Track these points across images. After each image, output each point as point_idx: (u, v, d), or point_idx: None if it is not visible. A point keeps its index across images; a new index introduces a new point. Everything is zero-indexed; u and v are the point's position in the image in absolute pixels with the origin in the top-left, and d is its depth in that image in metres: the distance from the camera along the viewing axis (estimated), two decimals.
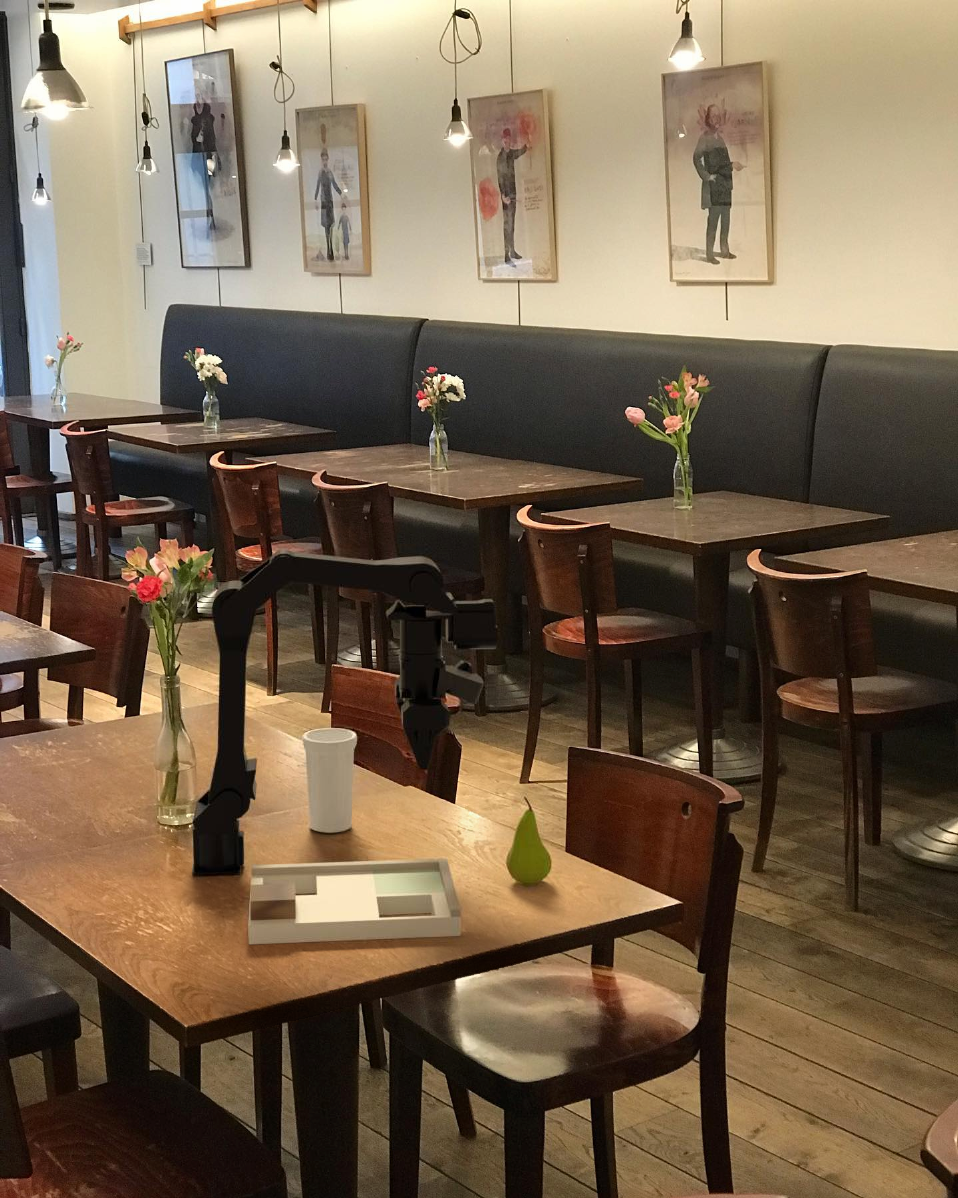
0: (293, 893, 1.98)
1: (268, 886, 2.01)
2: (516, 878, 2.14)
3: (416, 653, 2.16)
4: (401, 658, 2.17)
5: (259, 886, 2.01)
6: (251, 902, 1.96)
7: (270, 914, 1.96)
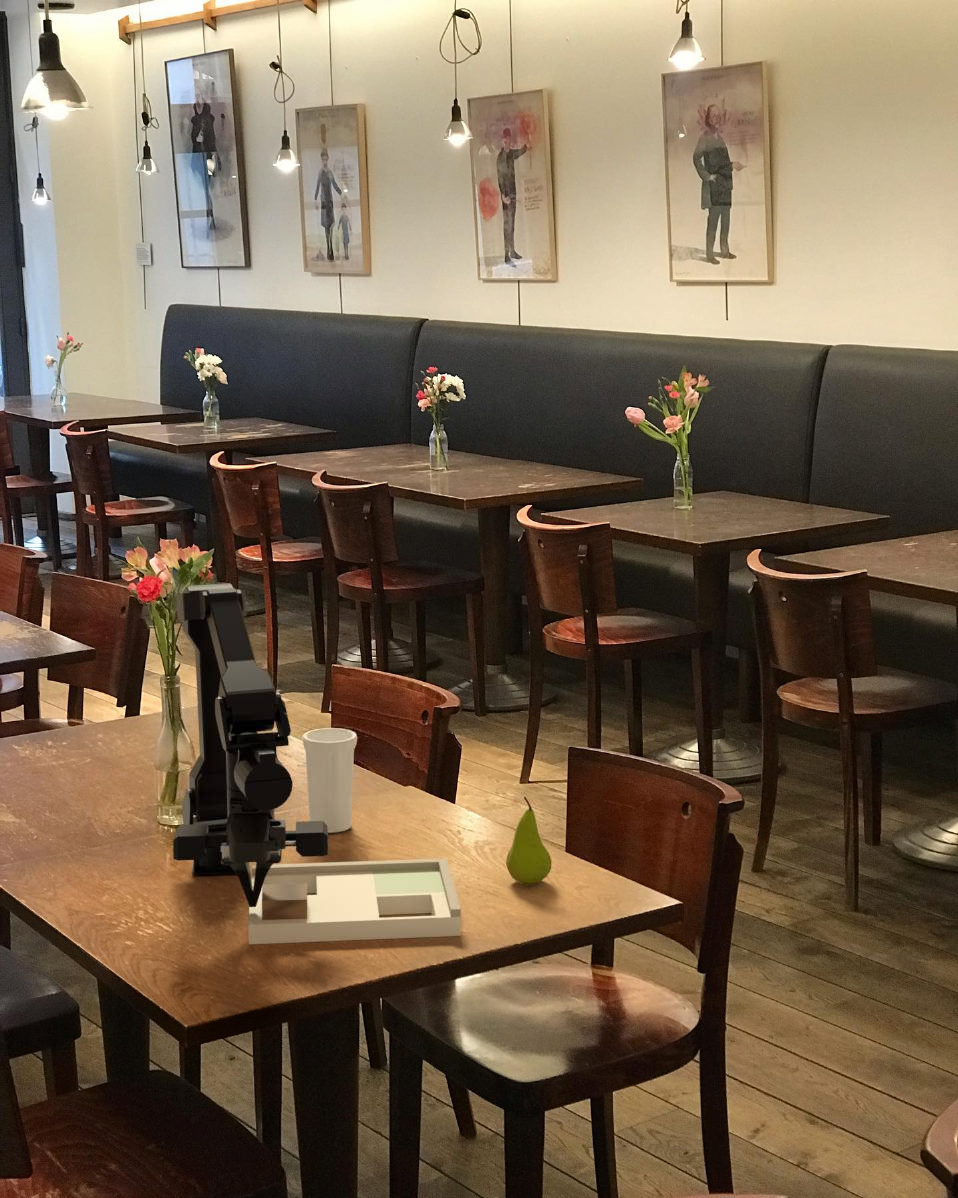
0: (305, 893, 1.98)
1: (280, 886, 2.01)
2: (516, 878, 2.14)
3: None
4: None
5: (271, 886, 2.01)
6: (263, 902, 1.96)
7: (282, 914, 1.96)
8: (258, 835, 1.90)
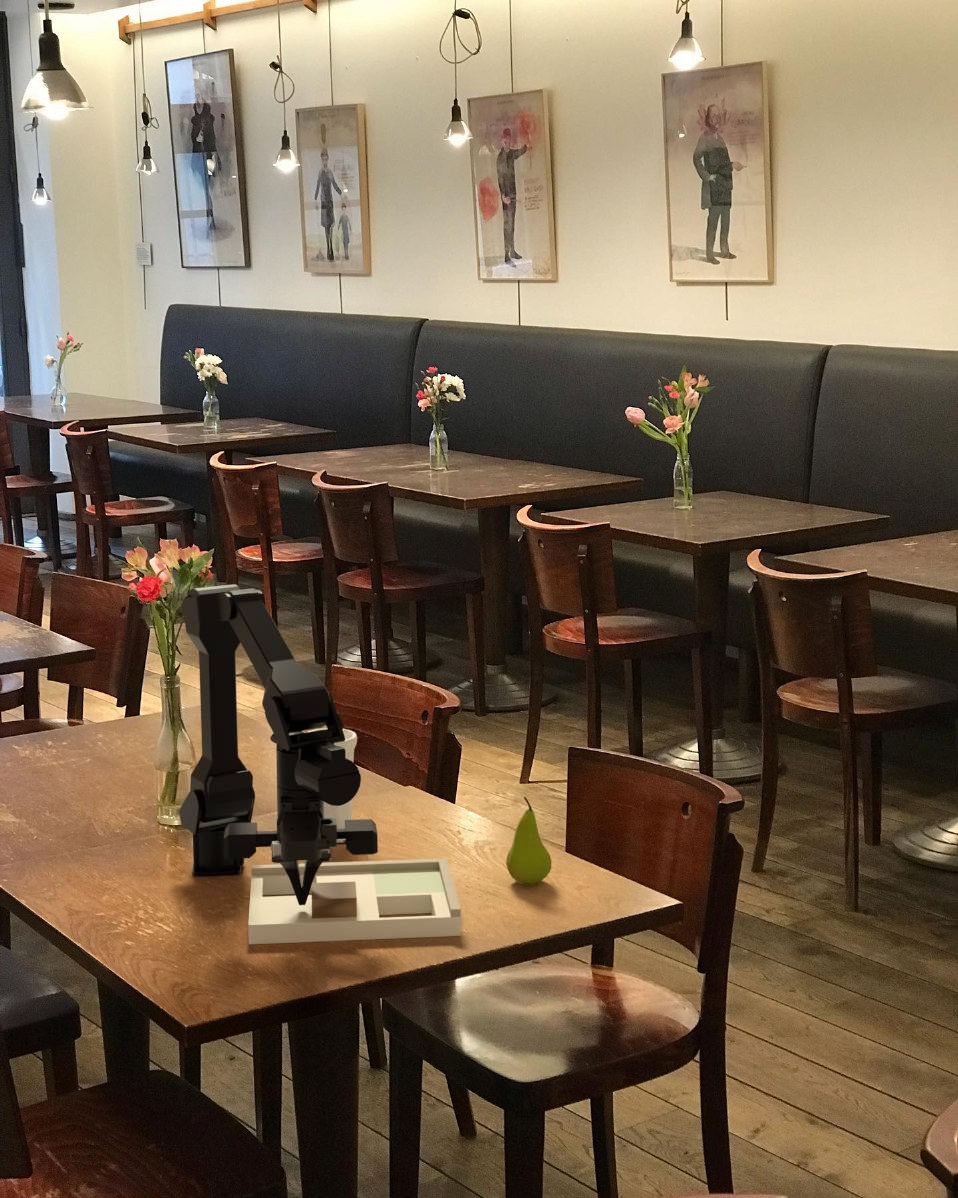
0: (354, 891, 1.99)
1: (329, 884, 2.01)
2: (516, 878, 2.14)
3: None
4: None
5: (320, 884, 2.01)
6: (313, 900, 1.96)
7: (331, 912, 1.97)
8: (310, 833, 1.90)
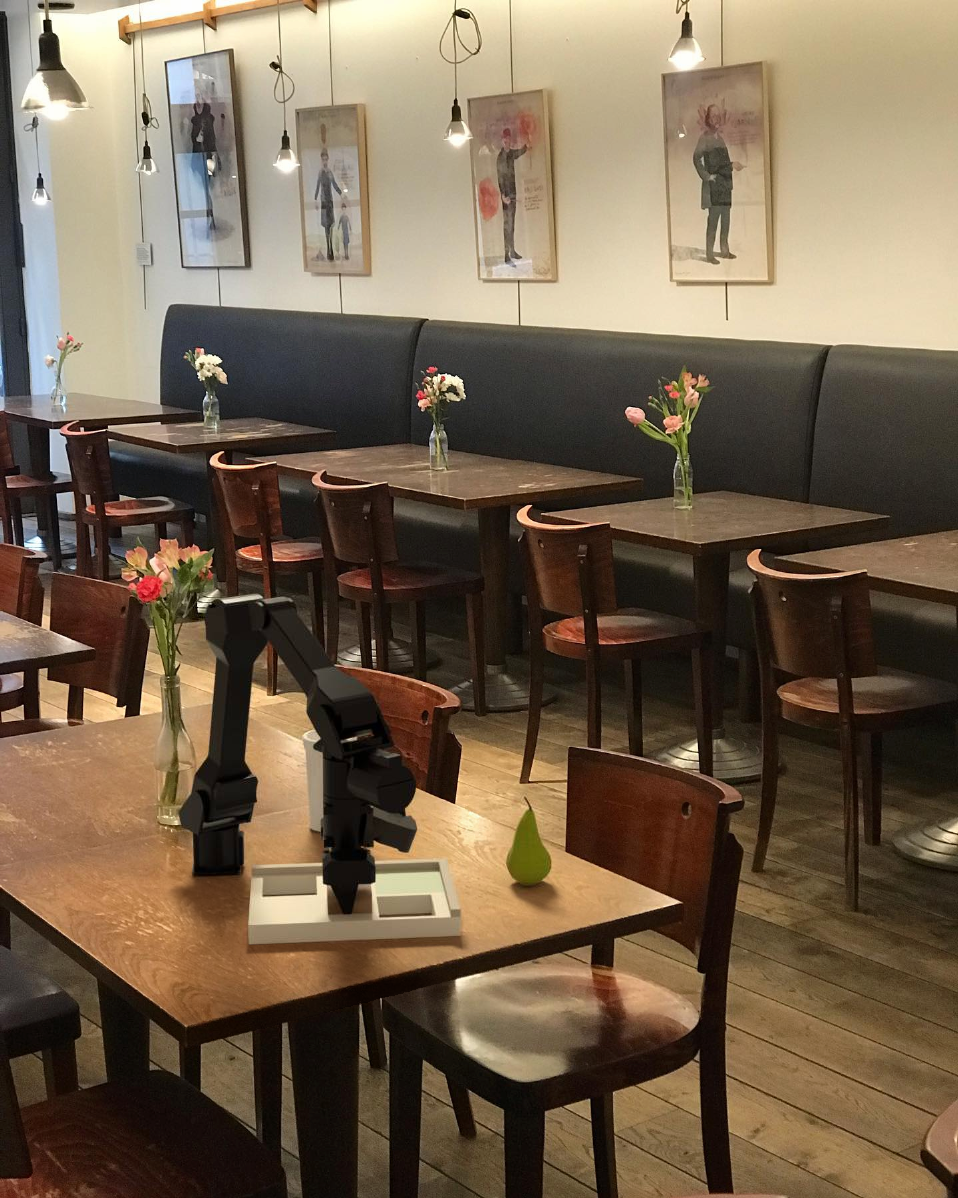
0: (369, 888, 2.00)
1: None
2: (516, 878, 2.14)
3: (340, 798, 1.91)
4: (324, 802, 1.93)
5: None
6: (328, 896, 1.98)
7: None
8: (405, 818, 1.97)
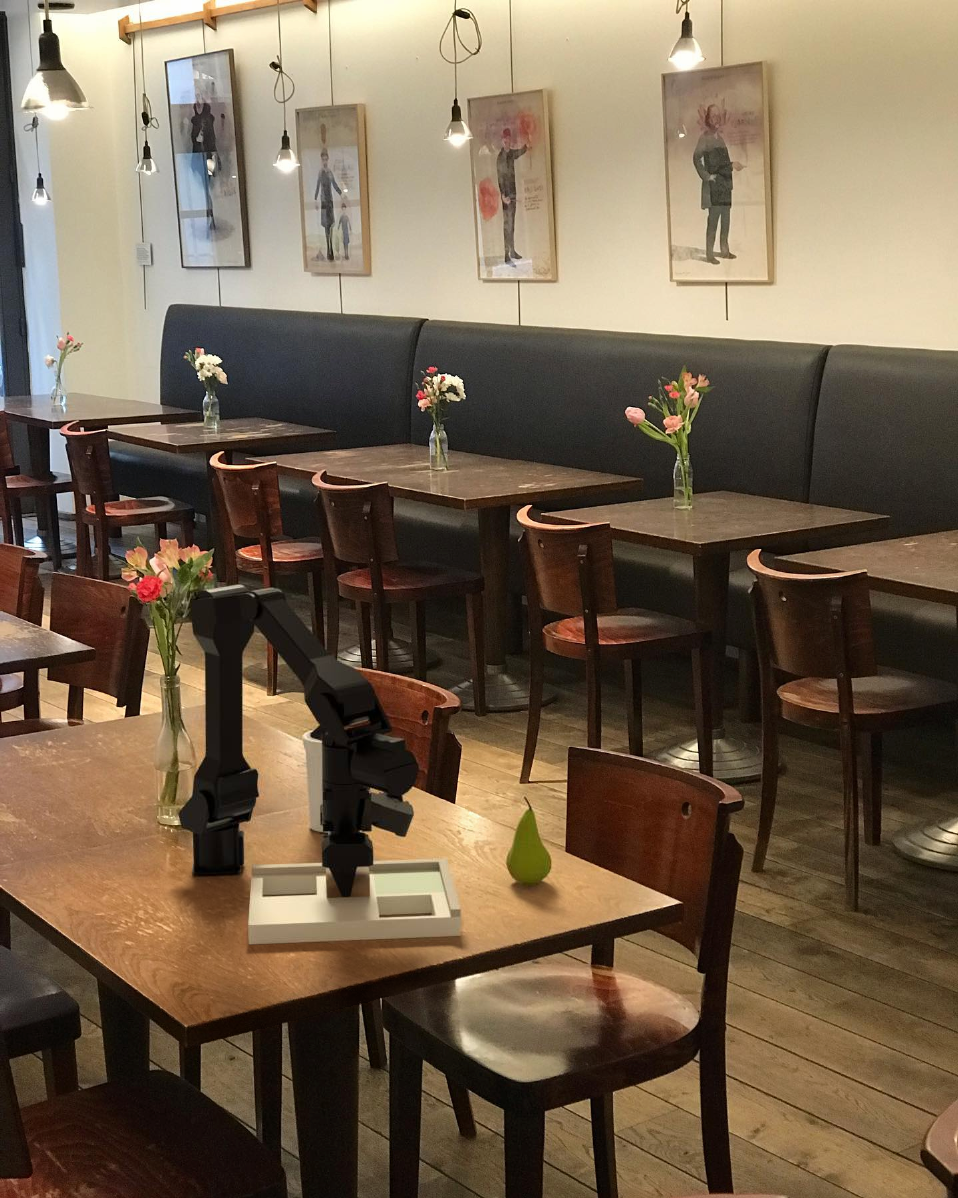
0: (367, 872, 2.06)
1: None
2: (516, 878, 2.14)
3: (339, 783, 1.97)
4: (323, 787, 1.99)
5: None
6: (327, 880, 2.03)
7: None
8: (402, 803, 2.02)
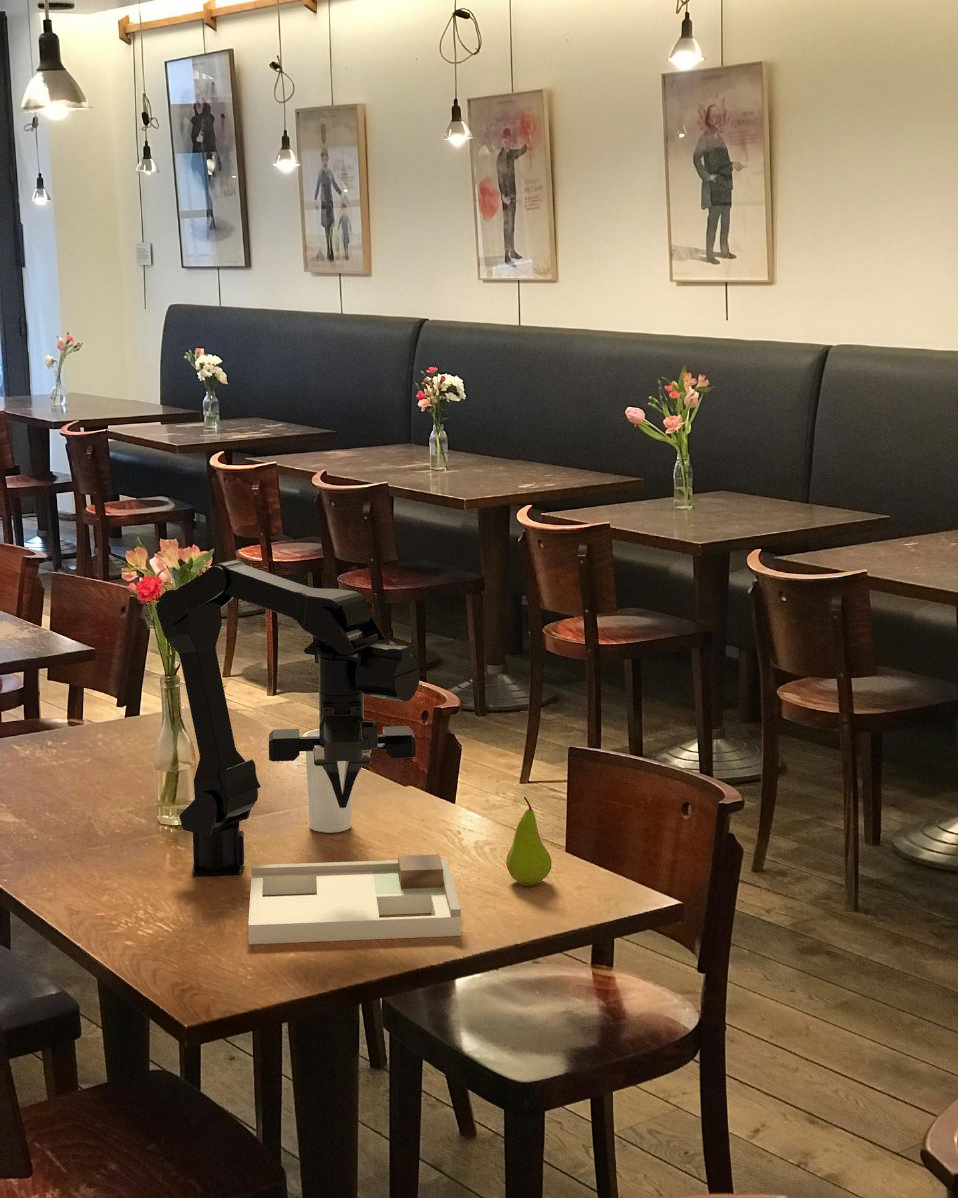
0: (440, 863, 2.09)
1: (415, 857, 2.11)
2: (516, 878, 2.14)
3: None
4: None
5: (406, 857, 2.11)
6: (402, 871, 2.06)
7: (419, 883, 2.07)
8: (352, 735, 1.99)
